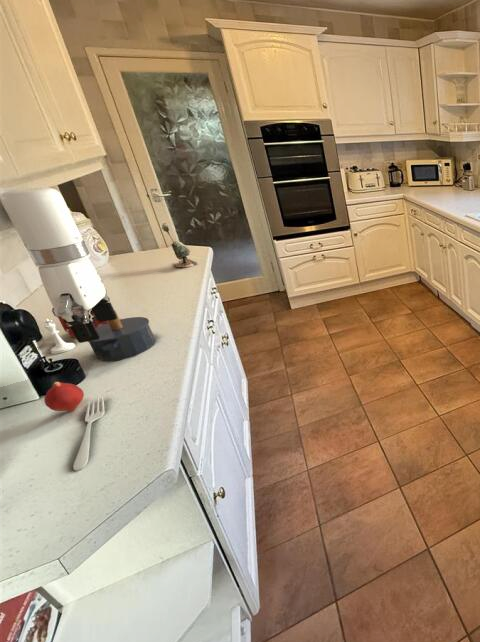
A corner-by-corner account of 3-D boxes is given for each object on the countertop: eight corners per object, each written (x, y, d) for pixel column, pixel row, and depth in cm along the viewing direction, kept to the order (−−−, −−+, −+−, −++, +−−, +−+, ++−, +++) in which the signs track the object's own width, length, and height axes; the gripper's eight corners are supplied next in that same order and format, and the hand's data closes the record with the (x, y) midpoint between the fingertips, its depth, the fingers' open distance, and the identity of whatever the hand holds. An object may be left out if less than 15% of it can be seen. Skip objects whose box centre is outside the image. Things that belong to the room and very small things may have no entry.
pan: (86, 371, 104) (74, 351, 102) (110, 340, 119) (100, 322, 116) (146, 358, 110) (137, 338, 107) (162, 330, 124) (154, 312, 122)
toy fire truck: (120, 328, 126) (106, 299, 122) (65, 342, 119) (48, 311, 115) (121, 320, 131) (107, 292, 127) (68, 333, 124) (52, 303, 119)
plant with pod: (177, 271, 173) (159, 227, 165) (174, 265, 181) (157, 222, 173) (199, 266, 178) (183, 223, 170) (195, 260, 186) (180, 219, 178)
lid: (76, 349, 103) (65, 329, 101) (96, 327, 114) (86, 308, 112) (142, 335, 109) (133, 316, 107) (155, 316, 120) (147, 298, 118)
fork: (67, 474, 74) (62, 468, 73) (89, 406, 91) (86, 400, 91) (90, 466, 75) (86, 459, 75) (108, 400, 93) (104, 394, 92)
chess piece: (56, 347, 116) (39, 317, 112) (78, 343, 118) (62, 313, 114) (47, 355, 112) (29, 325, 108) (70, 351, 114) (53, 320, 110)
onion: (50, 414, 89) (31, 385, 86) (84, 399, 94) (67, 371, 91) (59, 422, 87) (41, 393, 84) (94, 406, 91) (77, 378, 88)
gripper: (55, 244, 82) (92, 317, 89) (7, 271, 68) (55, 354, 75) (103, 239, 85) (135, 309, 92) (66, 263, 71) (107, 344, 78)
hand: (99, 329), depth 83 cm, fingers open, 9 cm apart
